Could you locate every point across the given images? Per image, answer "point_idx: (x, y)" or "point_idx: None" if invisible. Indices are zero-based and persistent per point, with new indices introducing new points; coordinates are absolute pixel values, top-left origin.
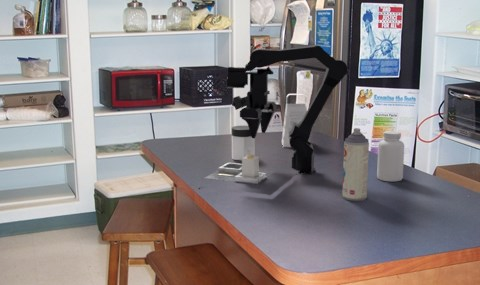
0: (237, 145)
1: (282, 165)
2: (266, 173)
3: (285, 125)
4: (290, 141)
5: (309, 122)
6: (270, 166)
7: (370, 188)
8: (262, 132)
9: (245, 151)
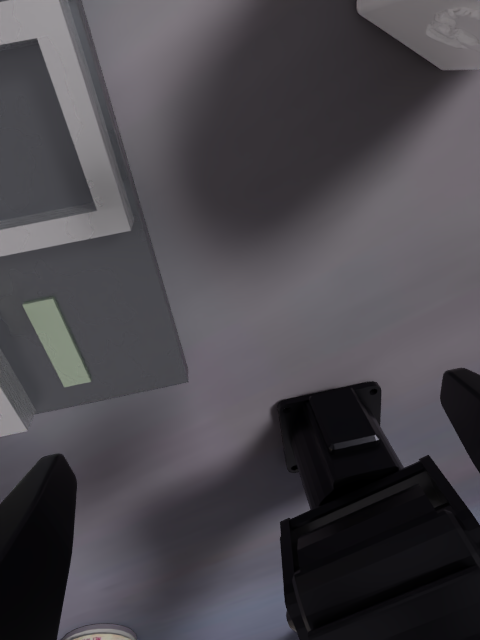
0: None
1: (407, 292)
2: (114, 368)
3: None
4: (295, 591)
5: None
6: (358, 246)
7: (220, 626)
8: (445, 379)
9: (425, 4)
